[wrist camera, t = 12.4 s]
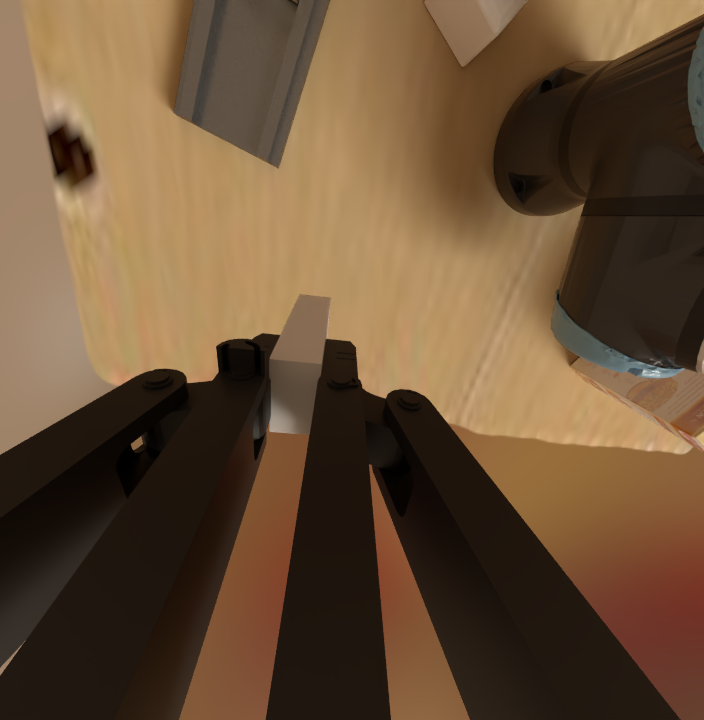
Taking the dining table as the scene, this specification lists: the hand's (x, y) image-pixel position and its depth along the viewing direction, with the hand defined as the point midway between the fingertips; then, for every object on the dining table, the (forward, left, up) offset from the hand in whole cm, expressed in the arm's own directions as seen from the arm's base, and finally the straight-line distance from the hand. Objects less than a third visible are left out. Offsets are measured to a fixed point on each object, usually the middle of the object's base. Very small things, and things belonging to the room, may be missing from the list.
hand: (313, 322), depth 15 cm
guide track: (+5, -22, -28) cm, 35 cm away
